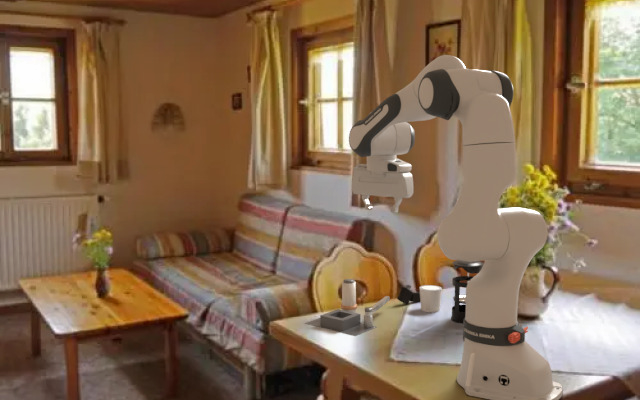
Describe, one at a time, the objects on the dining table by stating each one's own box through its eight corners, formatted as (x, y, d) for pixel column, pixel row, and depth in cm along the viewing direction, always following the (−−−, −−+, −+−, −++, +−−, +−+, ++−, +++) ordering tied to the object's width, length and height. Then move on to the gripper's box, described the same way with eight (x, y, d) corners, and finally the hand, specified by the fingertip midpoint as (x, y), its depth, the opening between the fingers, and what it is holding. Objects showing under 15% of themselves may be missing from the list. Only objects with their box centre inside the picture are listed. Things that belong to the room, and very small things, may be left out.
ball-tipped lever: (370, 316, 186) (370, 309, 186) (363, 315, 187) (363, 308, 187) (390, 300, 203) (390, 293, 203) (384, 299, 204) (384, 293, 203)
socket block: (377, 330, 188) (377, 315, 188) (355, 339, 180) (355, 324, 180) (326, 318, 200) (326, 304, 199) (304, 326, 192) (304, 312, 191)
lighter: (412, 309, 218) (419, 293, 219) (417, 310, 216) (424, 294, 217) (395, 298, 213) (402, 282, 214) (400, 299, 211) (407, 283, 213)
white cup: (430, 314, 203) (430, 291, 202) (414, 309, 209) (414, 286, 208) (446, 310, 207) (446, 287, 206) (430, 305, 213) (430, 283, 212)
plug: (360, 318, 200) (360, 279, 198) (350, 322, 196) (350, 283, 195) (347, 315, 203) (347, 277, 201) (337, 319, 199) (337, 280, 198)
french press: (466, 327, 190) (467, 246, 188) (442, 319, 198) (443, 241, 195) (494, 319, 197) (496, 242, 194) (470, 312, 205) (472, 237, 202)
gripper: (347, 163, 204) (347, 209, 206) (404, 166, 191) (404, 215, 193) (359, 162, 209) (359, 207, 210) (416, 165, 196) (416, 212, 197)
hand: (381, 211), depth 201 cm, fingers open, 8 cm apart
